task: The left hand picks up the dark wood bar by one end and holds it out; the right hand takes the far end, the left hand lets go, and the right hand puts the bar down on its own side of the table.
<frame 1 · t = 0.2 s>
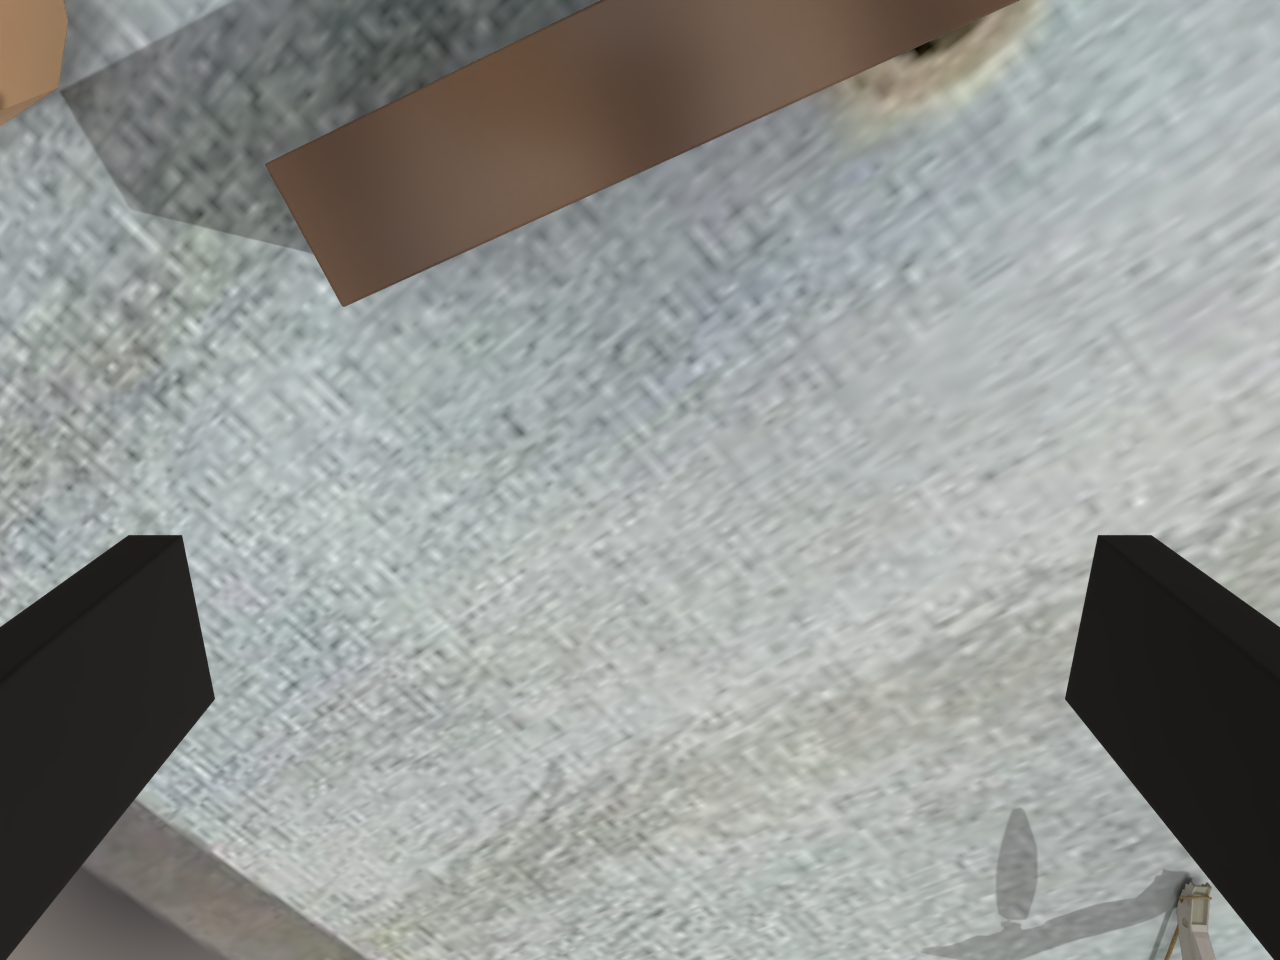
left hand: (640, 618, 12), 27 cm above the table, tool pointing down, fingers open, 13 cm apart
bar: (652, 93, 35), on the table
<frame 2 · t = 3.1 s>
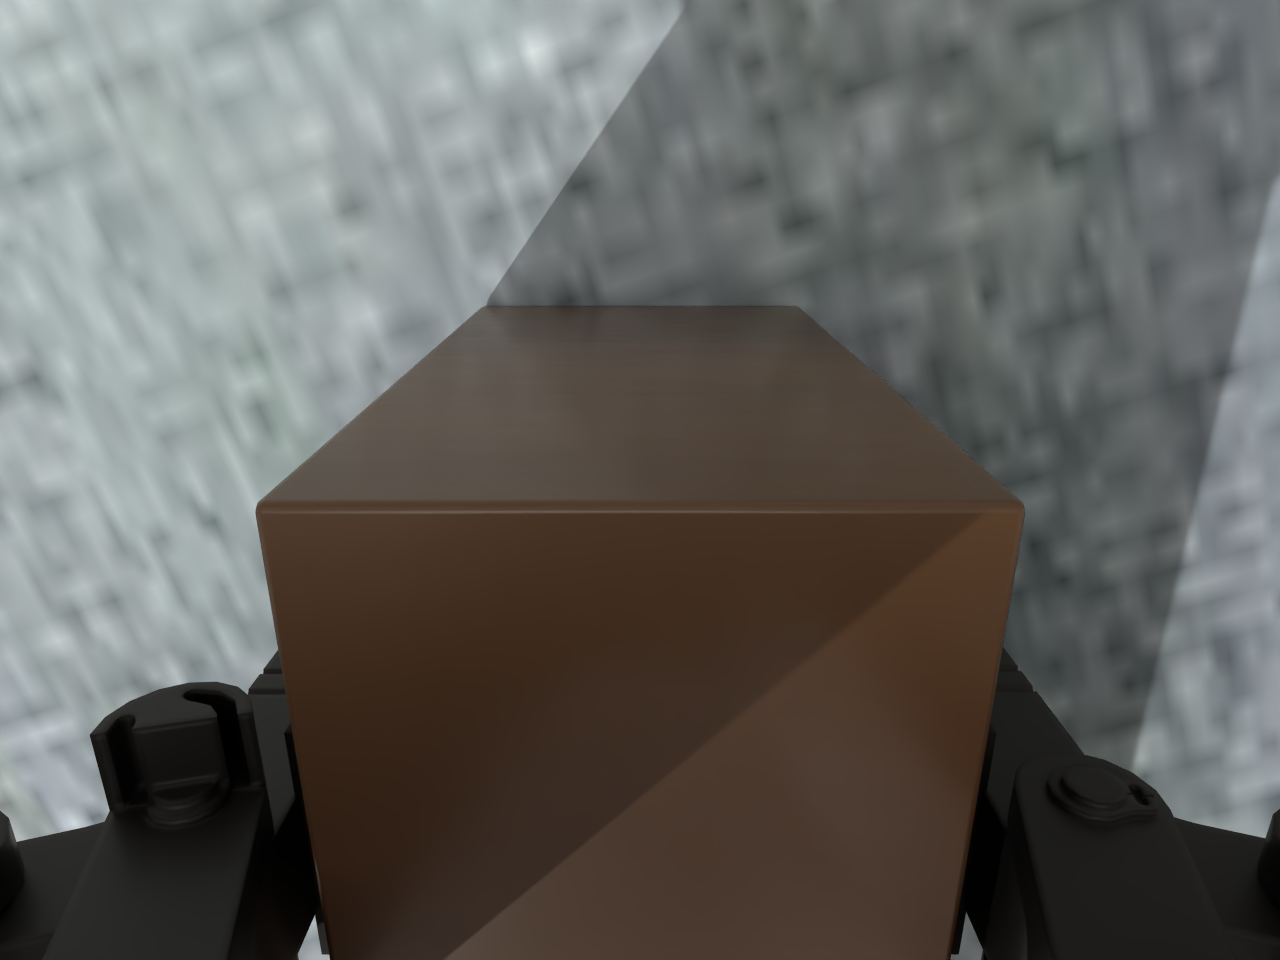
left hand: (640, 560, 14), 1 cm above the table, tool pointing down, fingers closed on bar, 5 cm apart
bar: (640, 921, 18), on the table, touching left hand
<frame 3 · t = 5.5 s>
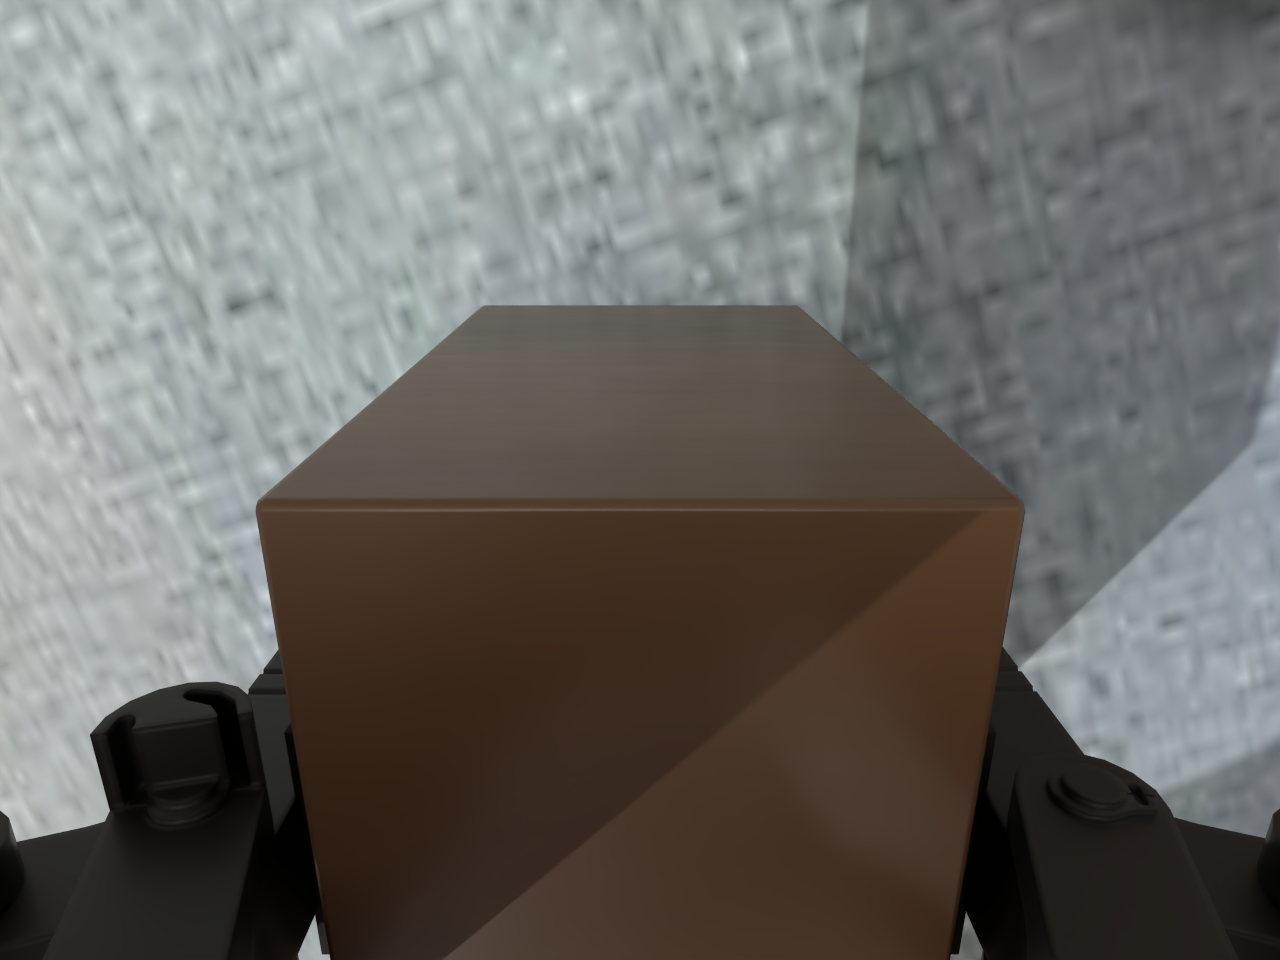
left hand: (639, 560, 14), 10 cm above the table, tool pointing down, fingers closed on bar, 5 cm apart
bar: (640, 920, 18), point 10 cm above the table, touching left hand
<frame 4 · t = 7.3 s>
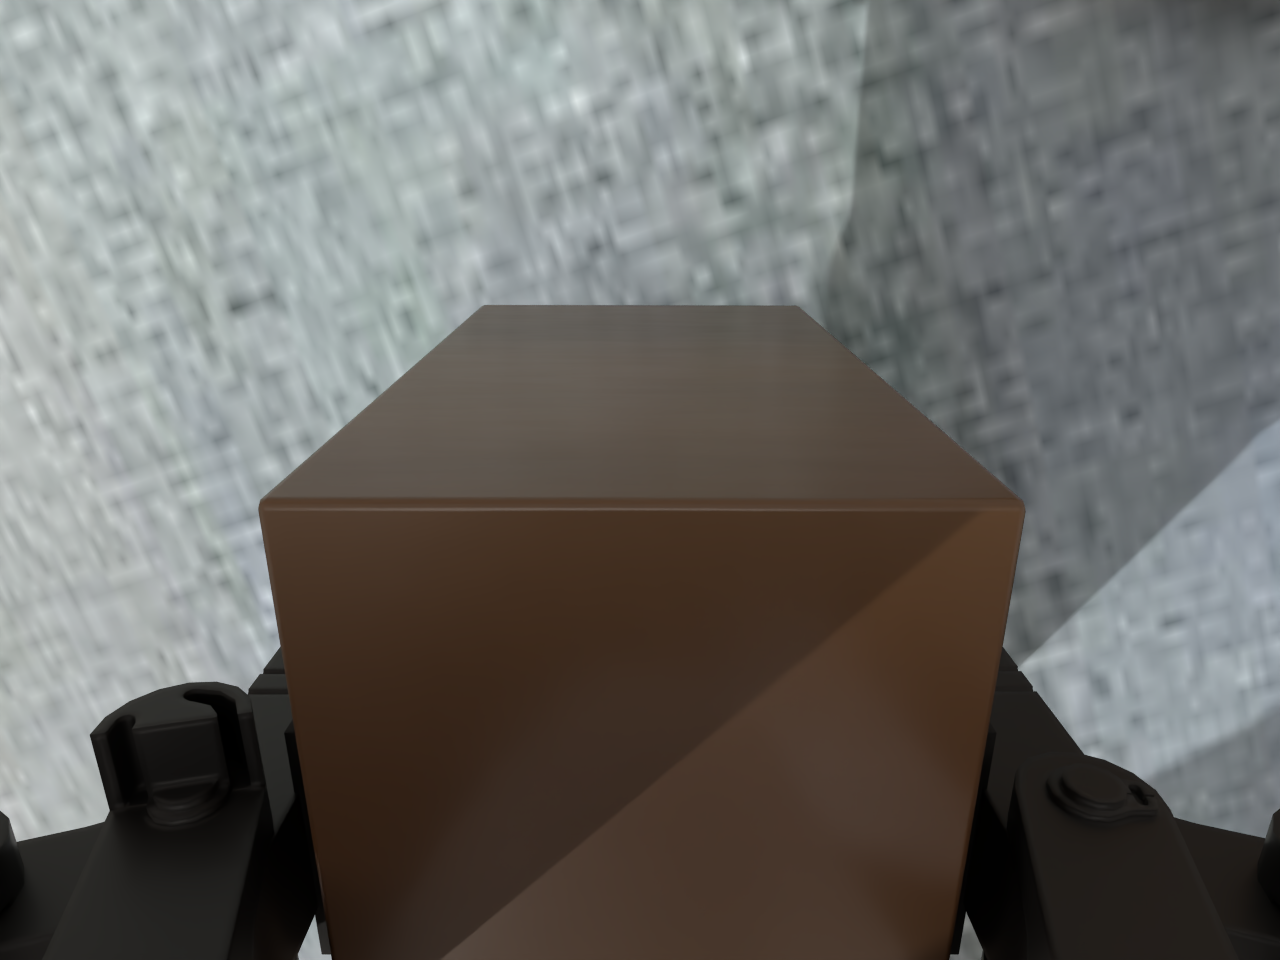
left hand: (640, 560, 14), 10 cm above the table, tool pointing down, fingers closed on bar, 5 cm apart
bar: (639, 920, 18), point 10 cm above the table, touching left hand, right hand
when the left hand's fingers open (10 cm above the table, at t = 8.1 s): bar stays where it is, held by the right hand.
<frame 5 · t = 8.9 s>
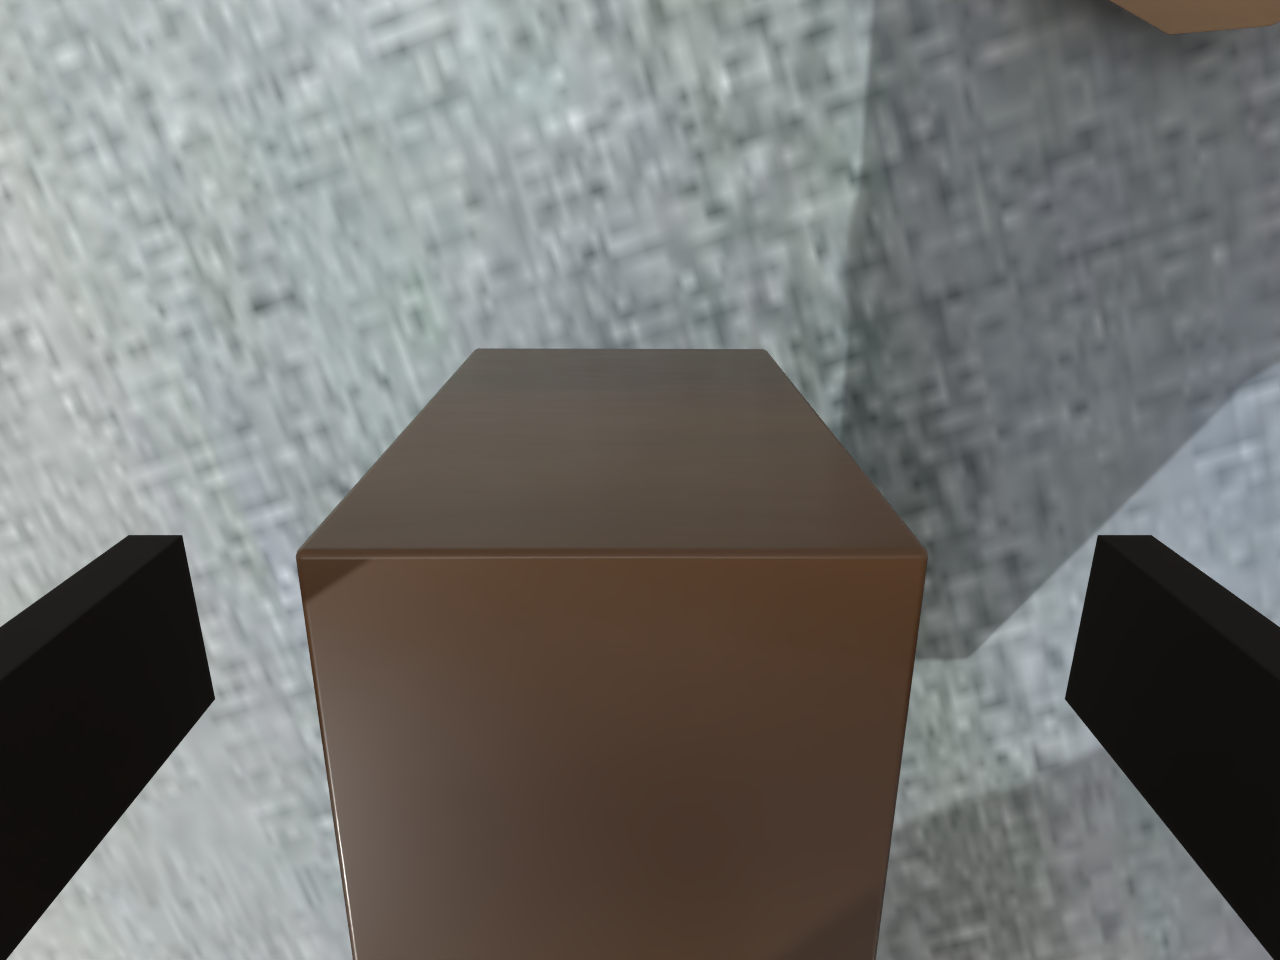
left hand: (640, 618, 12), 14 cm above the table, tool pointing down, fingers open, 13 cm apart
bar: (622, 918, 19), point 11 cm above the table, touching right hand
when the right hand's fingers open (5 cm above the table, at t = 13.8 s): bar stays where it is, on the table.
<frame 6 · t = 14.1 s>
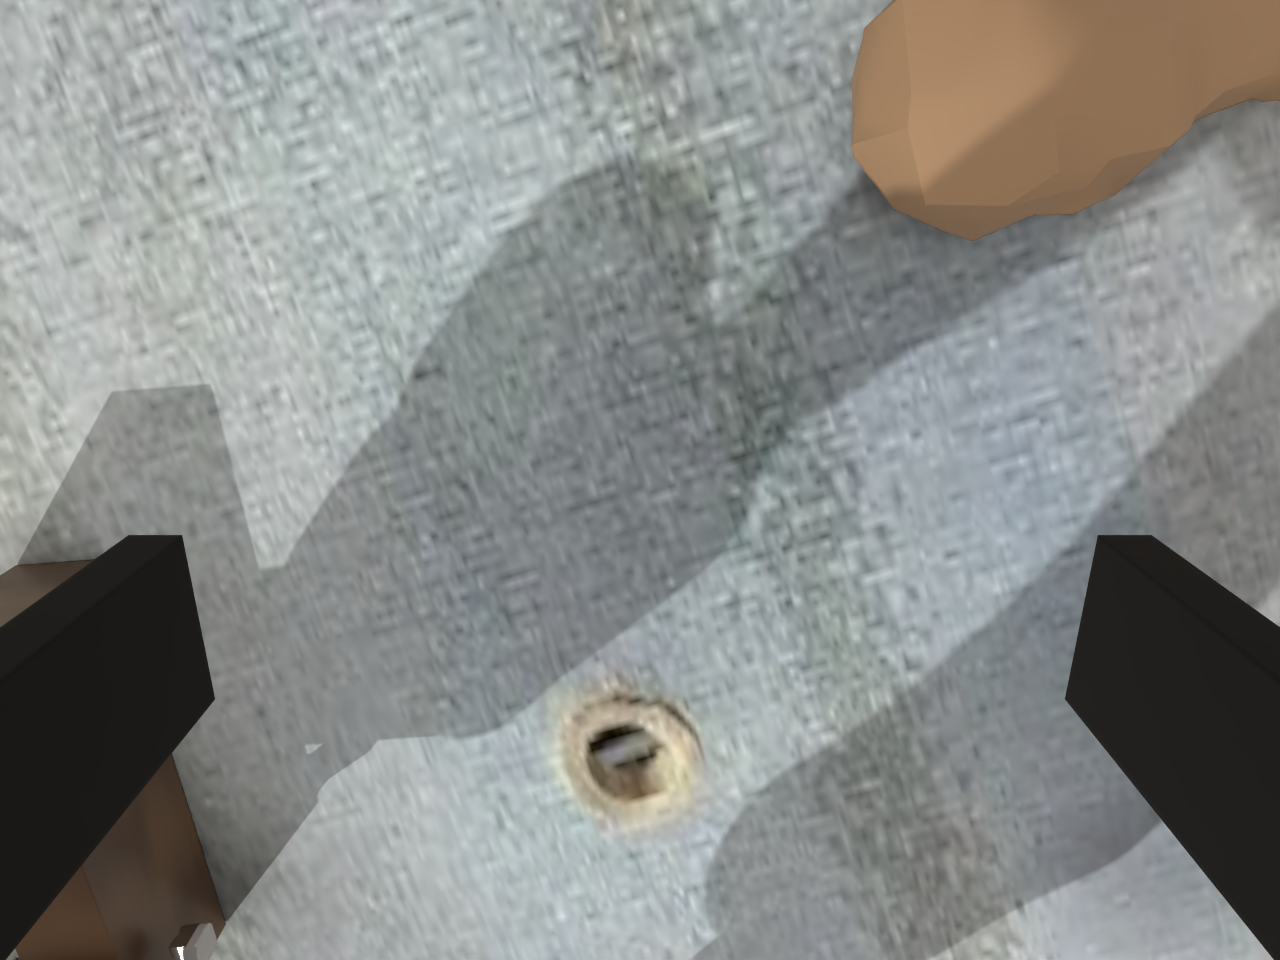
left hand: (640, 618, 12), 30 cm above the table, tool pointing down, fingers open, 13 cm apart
bar: (130, 759, 49), on the table
squash: (1049, 74, 37), on the table
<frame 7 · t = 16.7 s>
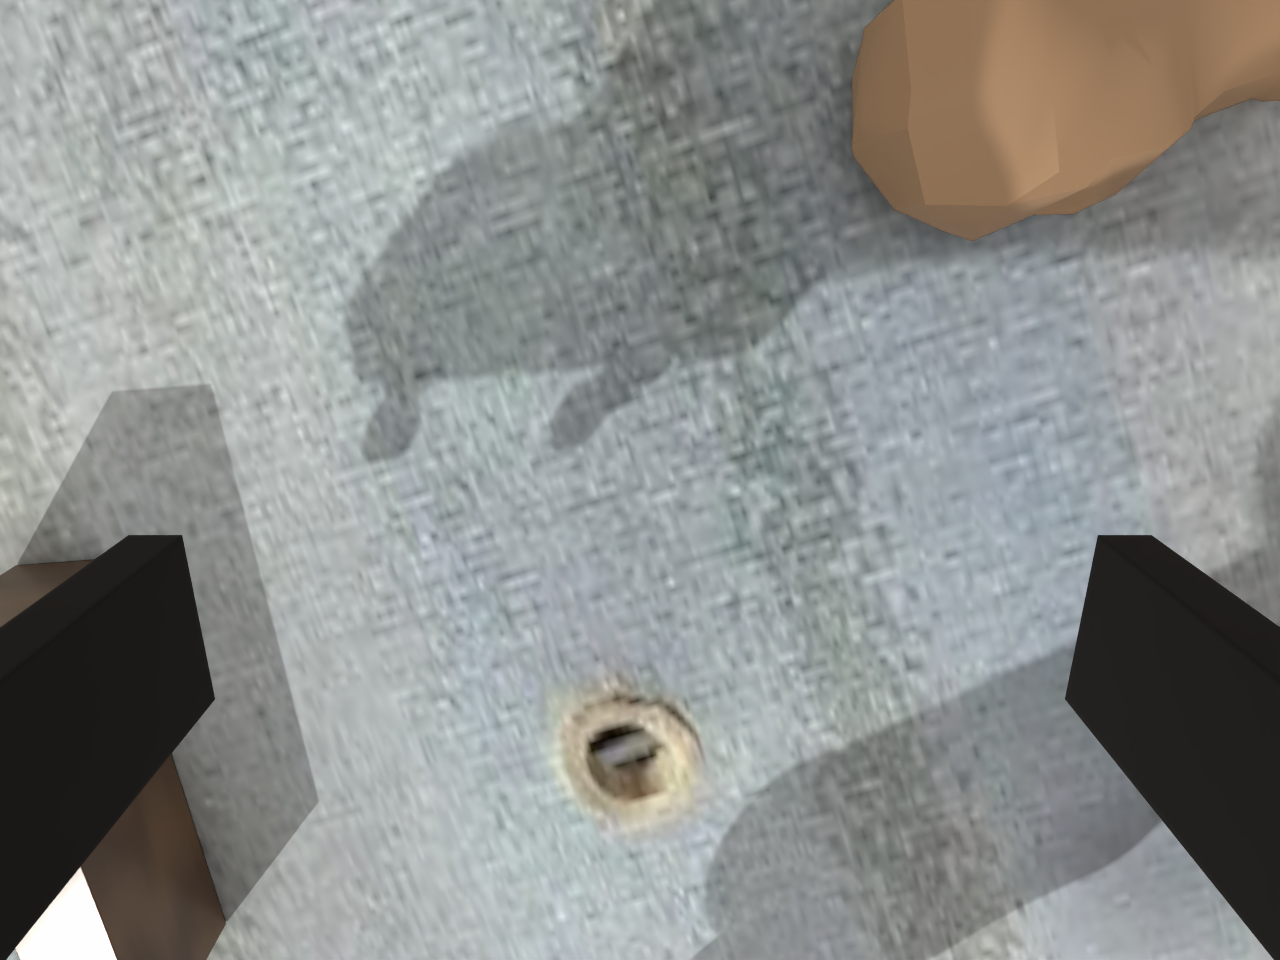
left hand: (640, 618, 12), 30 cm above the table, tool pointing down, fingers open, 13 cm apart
bar: (130, 759, 49), on the table
squash: (1049, 74, 37), on the table
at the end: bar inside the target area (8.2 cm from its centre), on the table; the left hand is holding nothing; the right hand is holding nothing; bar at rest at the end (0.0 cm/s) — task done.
